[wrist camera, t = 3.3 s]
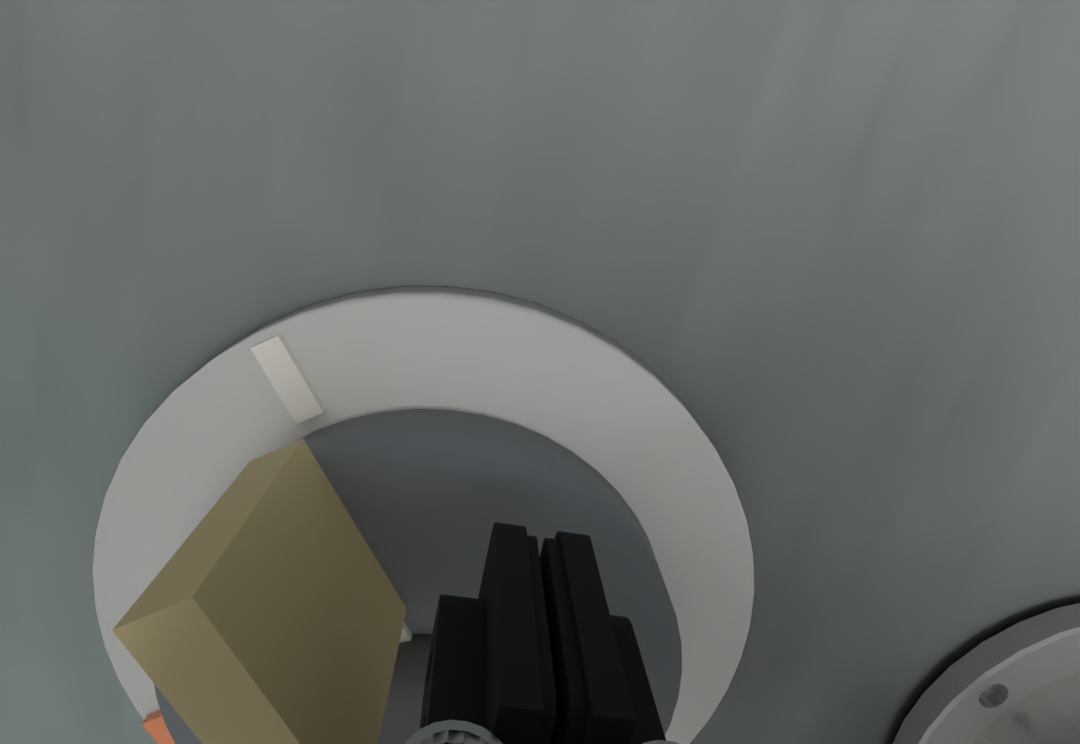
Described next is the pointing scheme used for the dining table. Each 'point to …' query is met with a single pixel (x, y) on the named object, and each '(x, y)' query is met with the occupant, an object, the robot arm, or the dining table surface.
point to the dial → (369, 576)
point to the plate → (446, 384)
